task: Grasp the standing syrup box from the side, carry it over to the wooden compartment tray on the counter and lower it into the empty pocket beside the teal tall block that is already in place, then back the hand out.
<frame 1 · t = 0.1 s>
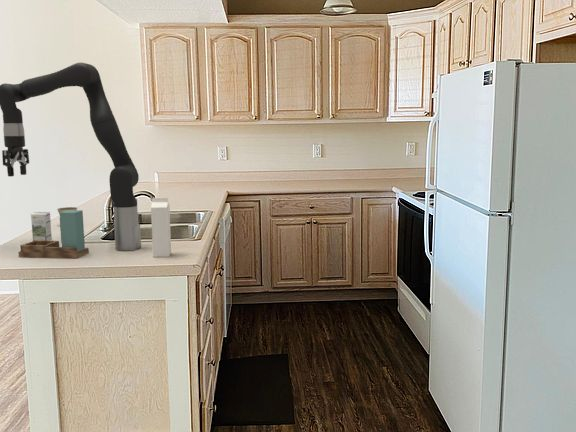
hand: (17, 175, 232), 29 cm above the counter, tool pointing down, fingers open, 8 cm apart
teal tall block: (73, 250, 219), resting on wooden compartment tray
milk: (162, 255, 219), on the counter
flower pot: (68, 226, 286), on the counter
wooden compartment tray: (54, 254, 220), on the counter
syrup box: (43, 248, 234), on the counter
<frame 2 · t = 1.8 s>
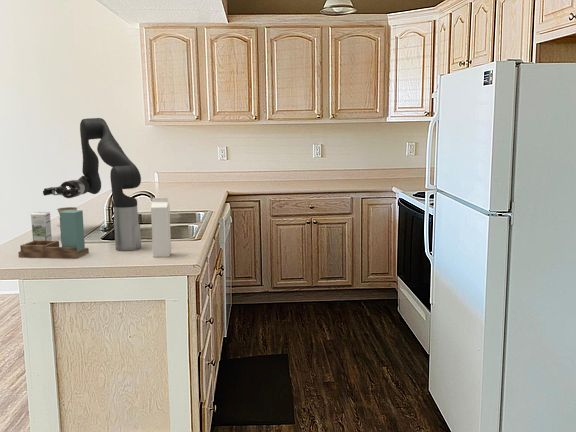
hand: (53, 193, 241), 21 cm above the counter, tool horizontal, fingers open, 8 cm apart
nothing on the counter moved.
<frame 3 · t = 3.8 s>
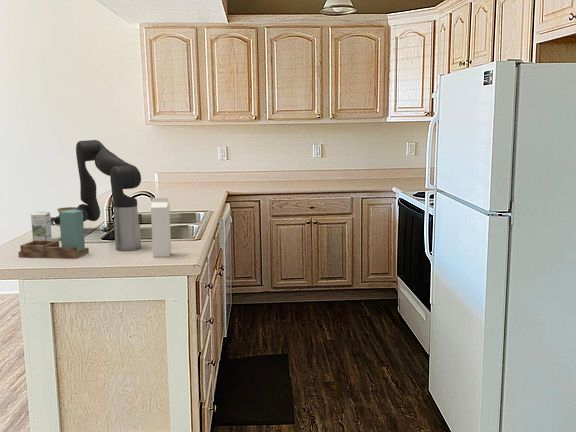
hand: (51, 224, 240), 8 cm above the counter, tool horizontal, fingers open, 8 cm apart
nothing on the counter moved.
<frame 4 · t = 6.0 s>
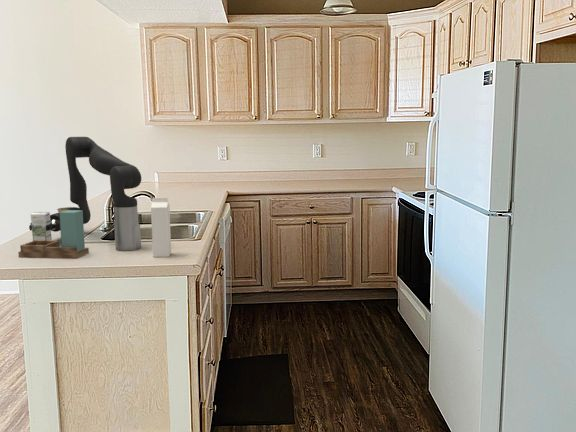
hand: (38, 228, 230), 9 cm above the counter, tool horizontal, fingers closed on syrup box, 6 cm apart
syrup box: (43, 248, 234), on the counter, touching gripper
everything else where it was.
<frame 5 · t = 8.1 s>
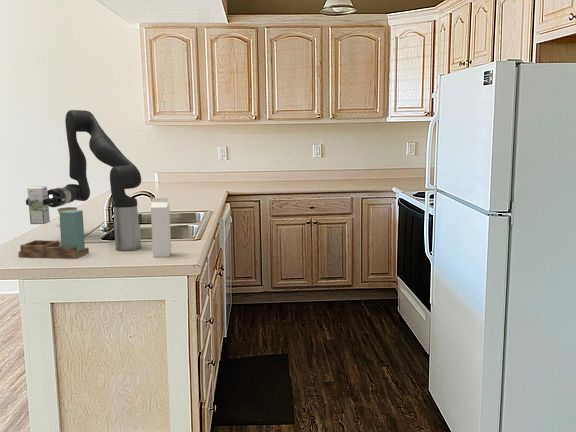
hand: (35, 202, 222), 20 cm above the counter, tool horizontal, fingers closed on syrup box, 6 cm apart
syrup box: (40, 223, 226), point 11 cm above the counter, touching gripper
everything else where it was.
when the fingers open (12 cm above the counter, at t = 10.6 s): syrup box drops 1 cm, resting on wooden compartment tray.
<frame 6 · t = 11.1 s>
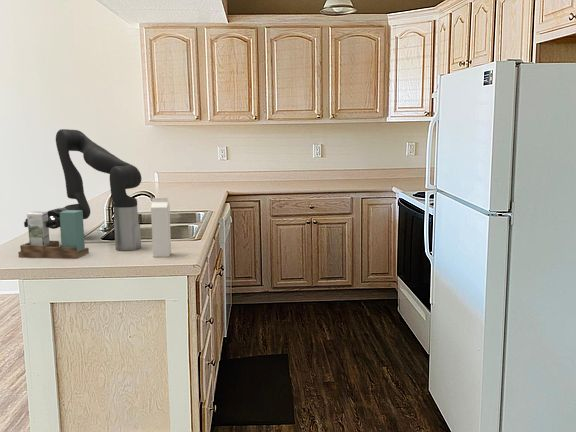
hand: (35, 224, 217), 12 cm above the counter, tool horizontal, fingers open, 8 cm apart
syrup box: (40, 249, 221), point 2 cm above the counter, touching wooden compartment tray
everything else where it was.
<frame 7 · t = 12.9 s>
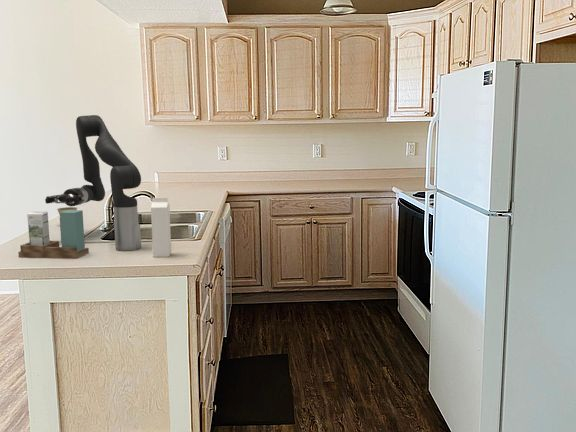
hand: (56, 200, 233), 19 cm above the counter, tool horizontal, fingers open, 8 cm apart
nothing on the counter moved.
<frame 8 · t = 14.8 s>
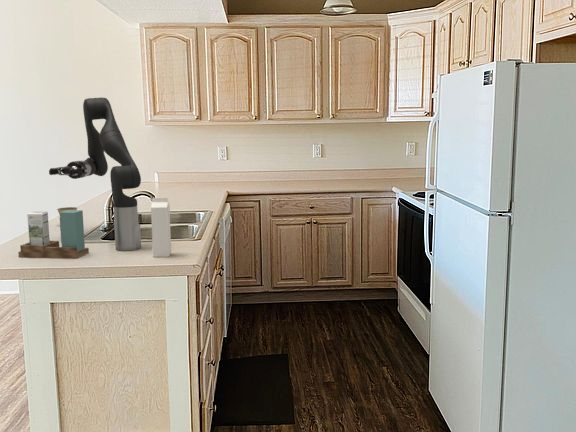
hand: (60, 172, 236), 30 cm above the counter, tool horizontal, fingers open, 8 cm apart
nothing on the counter moved.
at the end: syrup box 0.1 cm from the target spot on the wooden compartment tray, point 1.8 cm above the wooden compartment tray's base; syrup box tilted 0°; the gripper is holding nothing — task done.
